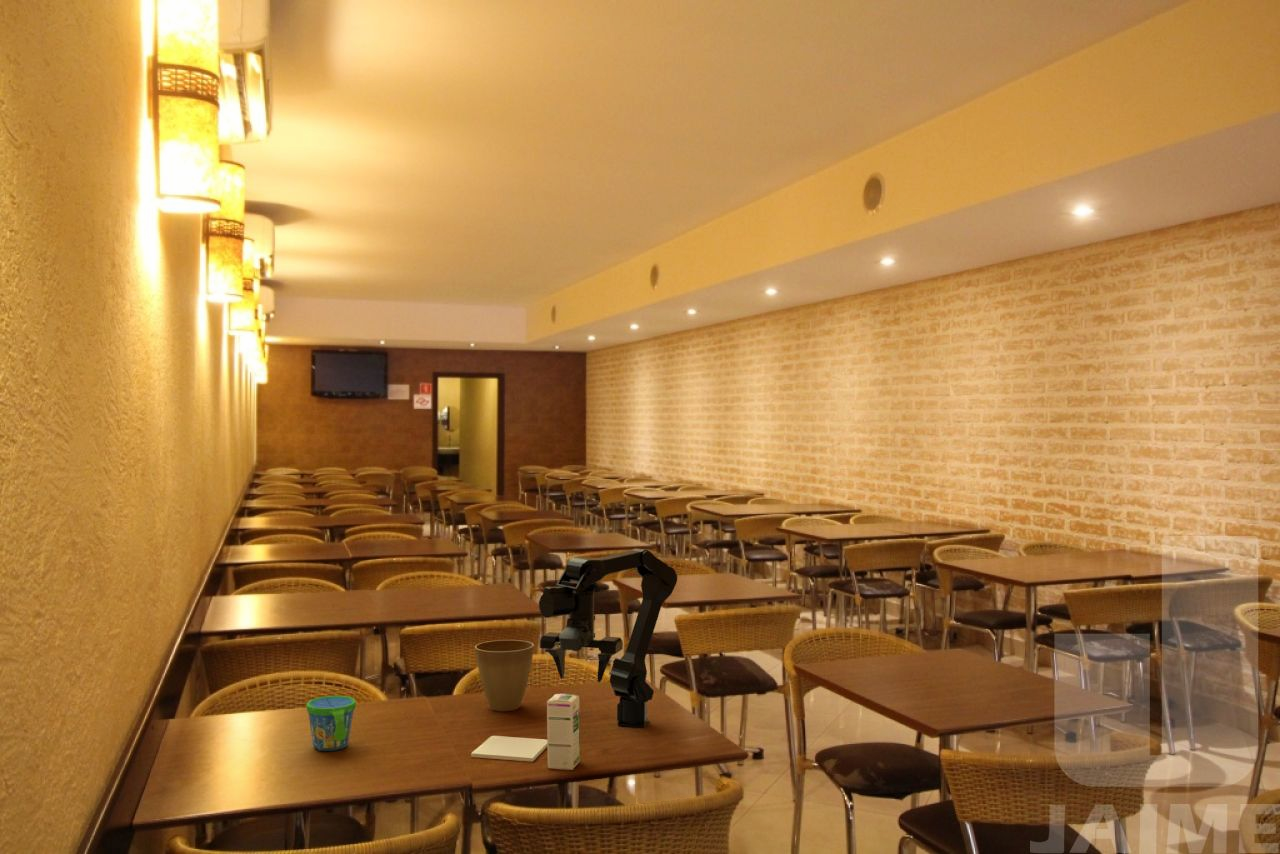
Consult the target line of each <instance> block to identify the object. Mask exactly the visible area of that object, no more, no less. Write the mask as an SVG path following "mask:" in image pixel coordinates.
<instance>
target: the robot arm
mask: <svg viewBox="0 0 1280 854" xmlns="http://www.w3.org/2000/svg"><path fill="white" fill-rule="evenodd" d="M632 569H635V571H636V573H637V575H639V576H640V577H641V584H640V587H641V591H642V592H641V593H642V600H641V604H640V605H639V606H640V607H639V610H638V613H637V616H636V619H635V622H634V626H633V628H632V632H631V635H630V638H629V641H628V643H627V646H626V650H625V653H624V655H622V657H620V658H617V657H615V658H614V660H613V663H612V666H611V669H610V671H609V673H608V675H609V676H610V677H609V683H610V686H611V688H612V689H613V693H614V696H615V697H619V702H618V703H617V706H616V707H617V709H616V711H617V712H616V715H617V717H616V720H617V726H620V727H621V726H622V727H635V728H644V727H645V726H646V725H647V723H648V722H649V717H648V702H649V701H652V699H653V697H654V689H653V688H652V687H651V686H650V684H648V683H647V681H646V680H647V674H648V670H647V665H646V658H647V653H648V652H649V647H650V644H651V641H652V638H653V635H654V631H655V629H656V625H657V622H658V619H659V615H660V613H661V609H662V605H663V604H664V603H665V601H667V599H669V597H670V596H671V595H672V593H673V592H674V589H675V588H676V585H677V583H678V575H677V572H676V570H675V568H673V567H671V566H669V565H668V564H667V563H665V562H664V561H662V560H661V559H659V558H658V557H656V556H655V555H654V554H653V553H652V552H651V551H650V550H648V549H644V548H633V549H631V550H628V551H627V550H626V551H622V552H619V553H614V554H610V555H605V556H602V557H583V556H582V557H579V556H577V557H572V558H570V559H568V560H567V563H566V566H565V568H564V570H563V572H562V573H561V575H560V577H559V579H558V580H557V583H556V584H555V586H545V587H544V592H543V593H542V594H541V595H540V598H539V600H538V607H539V608H538V609H539V611H540V613H541V615H542V616H543V617H544V618H547V619H549V618H555V617H562V616H568V618H566V625H565V628H563V630H562V631H561V632H553V631H552V632H551V631H550V632H547V633H545V634H543V635H542V636H541V637H540V638H539V648H540V649H544V652H545V653H549V654H550V655H551V657H552V658H553V661H554V663H555V666H556V669H557V672H558V674H559V678H560V679H561V680H563V679H564V678H565V670H566V669H565V668H566V651H573V652H579V651H580V650H582V648H590V649H598V651H599V653H597V658H598V666H597V682H598V683H600V682H602V681H603V680H602V679H603V676H604V674H605V672H606V669H607V666H608V664H609V662H610V661H611V659H612V656H614V655H616V654H618V653H619V652H621V651H622V650H624V649H623V645H624V644H623V643H624V642H623V640H622V638H621V637H618V636H605V637H603V638H601V639H594V638H596V633H595V632H594V631H595V630H594V629H595V628H594V621H596V615H595V613H594V612H595V610H594V608H595V593H596V594H597V593H601V592H602V589H601V587H600V586H598V585H597V583H598V582H601V580H603V578H604V577H606V576H608V575H610V574H615V573H618V572H624V571H628V570H632Z"/></svg>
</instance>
